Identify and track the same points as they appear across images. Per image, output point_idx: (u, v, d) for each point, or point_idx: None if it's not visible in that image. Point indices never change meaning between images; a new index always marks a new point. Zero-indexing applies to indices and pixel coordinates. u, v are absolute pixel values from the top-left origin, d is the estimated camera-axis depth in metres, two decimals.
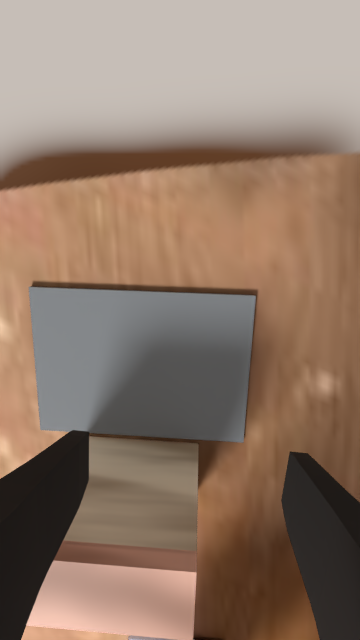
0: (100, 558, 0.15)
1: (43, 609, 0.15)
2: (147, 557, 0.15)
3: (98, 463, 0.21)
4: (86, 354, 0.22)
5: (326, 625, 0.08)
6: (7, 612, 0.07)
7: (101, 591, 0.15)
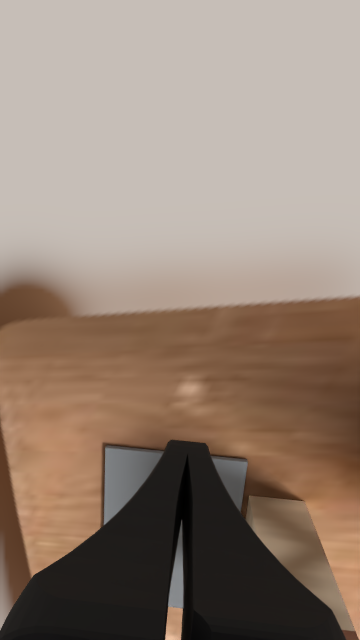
0: None
1: None
2: None
3: None
4: None
5: (183, 608, 0.08)
6: None
7: None
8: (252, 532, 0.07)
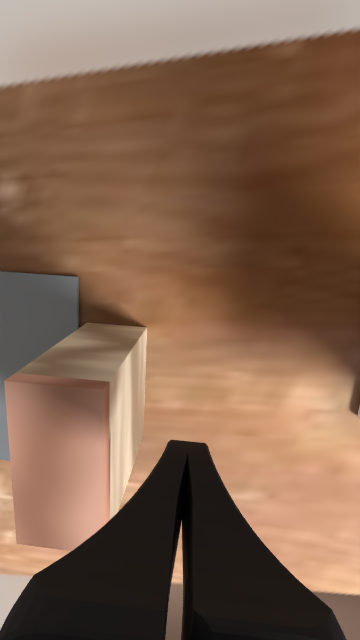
0: None
1: (78, 531, 0.15)
2: None
3: None
4: (1, 418, 0.24)
5: (183, 607, 0.08)
6: None
7: (46, 475, 0.14)
8: (252, 532, 0.07)
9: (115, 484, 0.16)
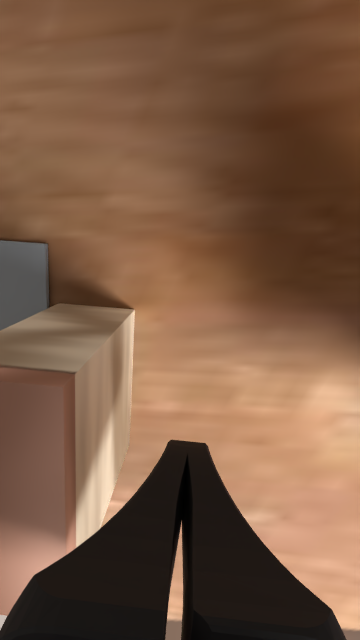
0: None
1: None
2: None
3: None
4: None
5: (183, 608, 0.08)
6: None
7: None
8: (252, 532, 0.07)
9: (87, 518, 0.12)
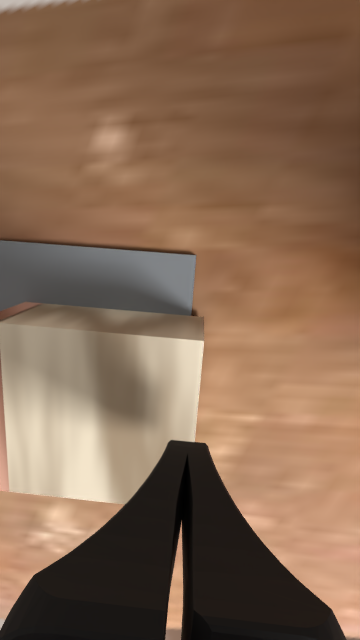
0: None
1: None
2: None
3: None
4: None
5: (183, 608, 0.08)
6: None
7: None
8: (252, 532, 0.07)
9: (27, 454, 0.15)
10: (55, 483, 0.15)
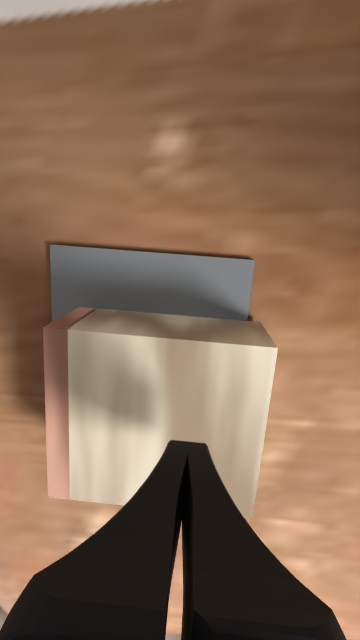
0: None
1: None
2: None
3: None
4: None
5: (183, 608, 0.08)
6: None
7: None
8: (252, 532, 0.07)
9: (89, 461, 0.15)
10: (117, 491, 0.15)
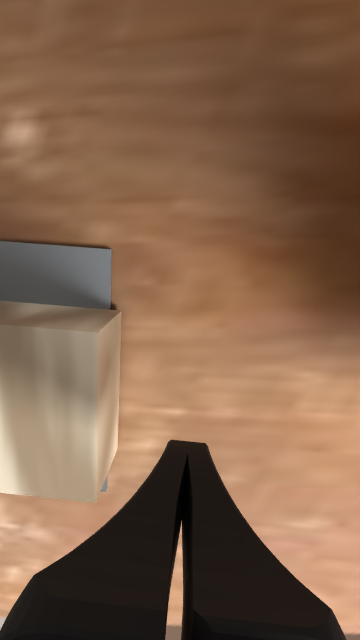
0: None
1: None
2: None
3: None
4: None
5: (183, 608, 0.08)
6: None
7: None
8: (252, 532, 0.07)
9: None
10: None
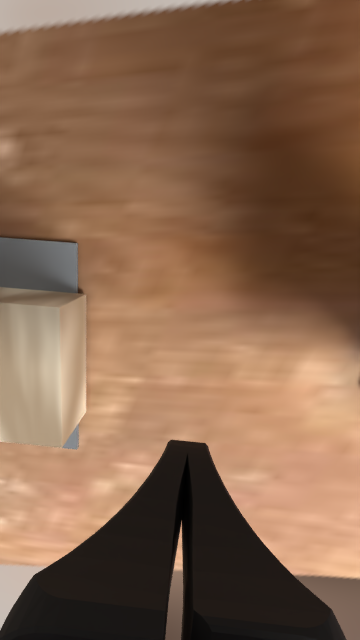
0: None
1: None
2: None
3: None
4: None
5: (183, 607, 0.08)
6: None
7: None
8: (252, 532, 0.07)
9: None
10: None
